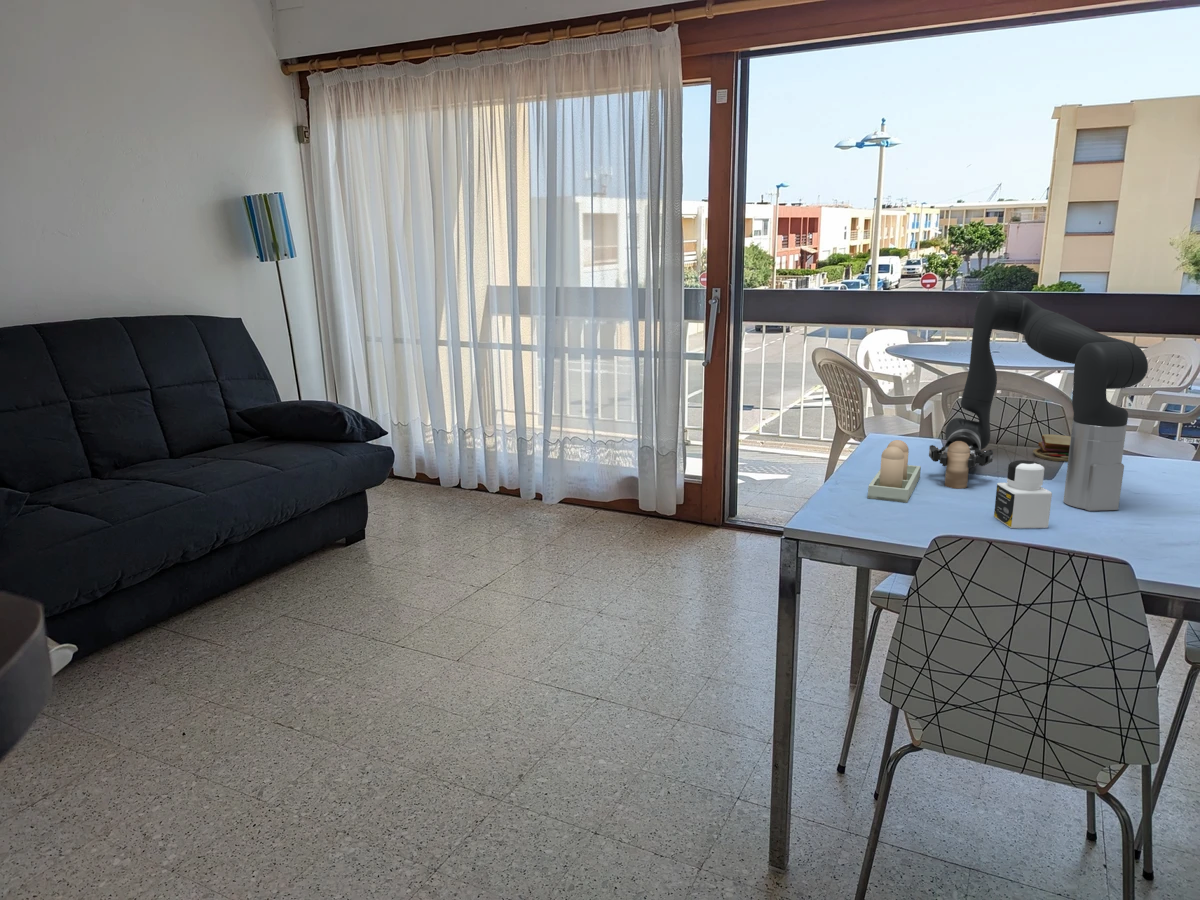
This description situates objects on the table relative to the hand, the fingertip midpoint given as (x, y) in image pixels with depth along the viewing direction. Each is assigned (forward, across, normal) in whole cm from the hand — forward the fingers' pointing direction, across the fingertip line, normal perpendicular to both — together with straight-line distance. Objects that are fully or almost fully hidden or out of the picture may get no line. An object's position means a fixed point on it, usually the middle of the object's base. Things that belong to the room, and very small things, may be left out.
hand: (957, 462), depth 174 cm
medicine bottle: (+20, +13, +6) cm, 25 cm away
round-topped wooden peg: (-3, 0, +6) cm, 7 cm away
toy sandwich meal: (-43, +21, +6) cm, 48 cm away
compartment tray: (+4, -12, +6) cm, 14 cm away
